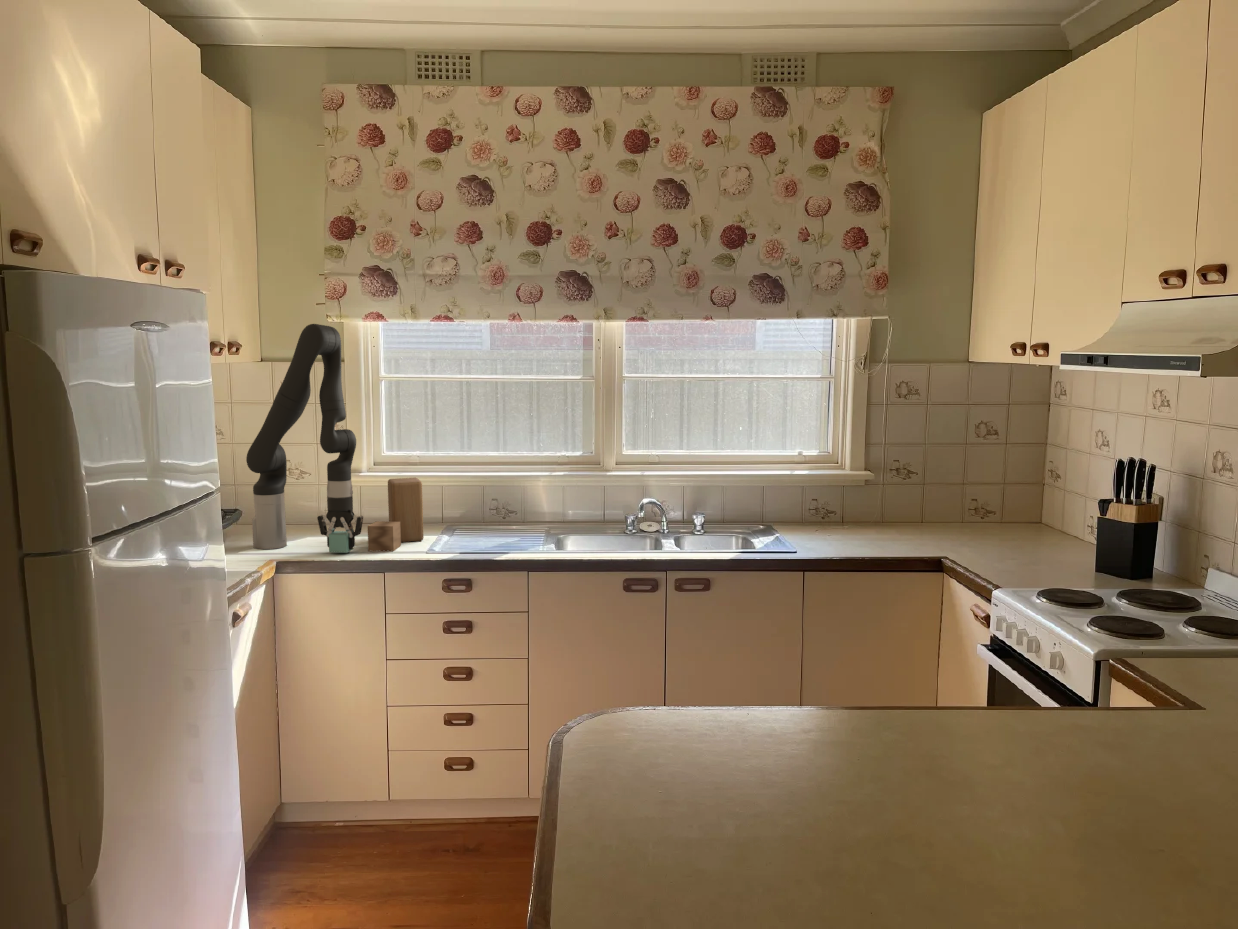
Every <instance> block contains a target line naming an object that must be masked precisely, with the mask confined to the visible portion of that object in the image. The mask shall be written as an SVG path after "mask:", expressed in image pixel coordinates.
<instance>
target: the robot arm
mask: <svg viewBox="0 0 1238 929" xmlns="http://www.w3.org/2000/svg"><path fill="white" fill-rule="evenodd" d="M341 339H342V338H341V335H340V332H339V331H338V329H337V328H335V327H333V326H330V325H325V324H320V323H310V324H308V325H306V326H305V327H304V328H303V329H302V331H301V333H300V334H299V338H298V341H297V343H296V346H295V349H294V354H293V355H292V359H291V362H290V364H289V366H288V368H287V371H286V374H285V376H284V378H283V380H282V381H281V385H280V386H279V389H278V391H277V393H276V395H275V398H274V399H273V402H272V405H271V407H270V408H269V411H268V413H267V415H266V418H265V420H264V422H263V424H262V426H261V428H260V430H259V432H258V433H257V435H256V437H255V438H254V440H253V441H252V444H251V445H250V447H249V449H248V451H247V453H246V457H245V458H246V460H245V461H246V465H247V467H248V469H249V470H250V471H251V472H253V473H254V474H255V473H256V474H259V478H258V480H257V481H256V482H255V483H254V485H253V486H252V487H253V488H252V494H253V510H254V512H253V514H254V517H252V518H251V525H252V544H253V545H252V546H253V549H260V550H272V549H273V550H274V549H281V548H284V547H286V546H288V545H287V543H288V542H287V540H288V538H287V523H286V522H287V521H286V503H285V502H286V500H285V487H286V484H287V463H288V462H287V461H288V460H287V455H286V451H285V449H284V447H283V446H282V445H281V444H280V442H281V441H282V439H283V438H284V436H285V435H286V434H287V433H288V431H290V430H291V429H292V427H293V426H294V425H295V424H296V423H297V421H299V419H300V418H301V416H302V415H303V414H304V411H305V409H306V407H307V404H309V400H310V397H311V391H312V390H311V370H312V369H313V367H314V366H313V365H314V363H315V361H316V359H317V358H318V356H321V360H322V364H323V377H322V380H321V383H320V388H319V397H318V399H319V404H320V405H319V407H320V412H321V427H320V428H321V429H320V437H319V445H320V447H321V449H322V450H323V452H324V453H326V454H338V456H337V458H336V459H334V460H331V461H329V462H328V463H327V465H326V470H327V472H326V474H327V481H326V483H327V485H326V500H327V501H326V502H327V504H326V505H327V508H326V509H327V513H326V514H320V515H318V516H317V517H316V518H317V522H318V523H317V524H318V528H319V531H320V535H322V536H326V542H327V545H326V546H327V547H328V548H329V534H331V533H333V532H334V531H336V529H337V528H342V529H344V530H345V531H347V533H348V535H349V538H348V541H349V549H352V550H353V549H354V547H355V545H356V542H355V541H356V540H355V539H356V537H358V536H359V535H361V533H362V530H363V529H362V527H363V522H364V516H363V515H355V513H354V502H353V501H354V499H353V494H354V490H353V484H352V482H353V481H352V464H353V460H354V455H355V452H356V448H357V438H356V437H357V436H356V435H355V433H354V431H353V430H351V429H348V428H344V429H343V428H342V429H336V428H335V427H336V424H337V423H340V422H343V421H345V420H346V418H347V413H346V412H347V411H346V407H345V406H346V405H345V401H344V395H343V394H344V393H343V385H342V383H343V382H342V340H341ZM327 520H328V521H329V523H330V524H329V526H328V528H327V524H326V522H327ZM353 520H354V523H355V529H354V527H353V523H352V521H353Z"/></svg>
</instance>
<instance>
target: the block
mask: <svg viewBox="0 0 1238 929" xmlns="http://www.w3.org/2000/svg"><path fill="white" fill-rule="evenodd" d="M387 499H388V500H387V504H388V522H400V532H401V543H411V541H413V542H421V541H423V540H424V537H425V536H424V511H423V510H424V507H423V506H424V504H423V503H424V502H423V482H422V481H421V480H420V479H419V478H417V477H400V478H398V477H397V478H389V479H388V480H387Z"/></svg>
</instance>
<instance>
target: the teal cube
mask: <svg viewBox="0 0 1238 929" xmlns="http://www.w3.org/2000/svg"><path fill="white" fill-rule="evenodd" d="M348 538H349V535H348V533H347V531H346V530H345V531H344V530H340V531H339V530H335V531H334V532H333V533H331V534H329V547H328V548H329V549H328V550H329V553H345V554H346V553H349V552H350V551H352V550H353V549H349V541H348Z"/></svg>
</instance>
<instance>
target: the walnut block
mask: <svg viewBox="0 0 1238 929" xmlns="http://www.w3.org/2000/svg"><path fill="white" fill-rule="evenodd" d="M367 543H368V544H367V545H368V546H367V551H368V552H395V551H396V550H398V549H399V548H400V547H401V546H402V542H401V532H400V522H389V521H380V520H379V521H378V520H377V521H374V522H373V523H371V524H369V525H367Z"/></svg>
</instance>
